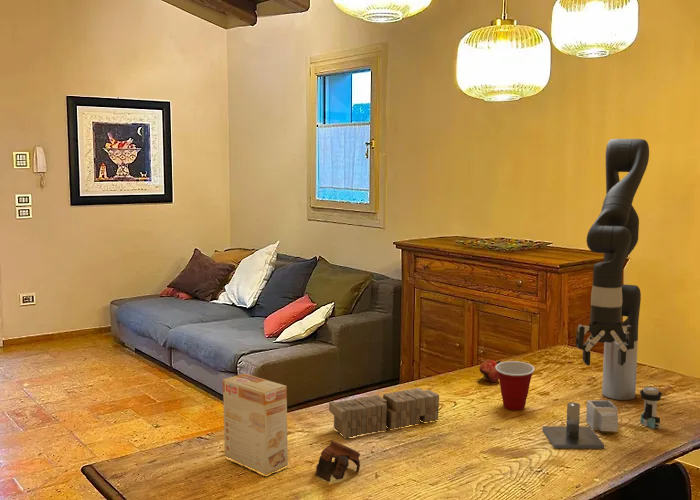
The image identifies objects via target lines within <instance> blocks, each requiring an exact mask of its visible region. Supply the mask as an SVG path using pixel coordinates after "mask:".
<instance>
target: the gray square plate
mask: <svg viewBox="0 0 700 500" xmlns="http://www.w3.org/2000/svg"><path fill="white" fill-rule="evenodd" d="M566 405H567V406H566V425H563V426H557V425H556V426H554V425H553V426H552V425H551V426H549V425H548V426H546V425H545V426H543V425H542V431H543V433H544V435H545V436H546V438H547V439H548V441H549V442H550V444H551V446H552V447H553V449H574V450H576V449H577V450H579V449H580V450H581V449H583V450H584V449H585V450H587V449H589V450H601V449H602V450H604V449H605V444H604V443H603V441H602V440H601V439H600V438H599V436H598V435H597V434H596V433H595V432H594V430H592V428H591V427H590V426H580V410H581V404H580V403H578V402H570V401H569V402H567V403H566Z"/></svg>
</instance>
